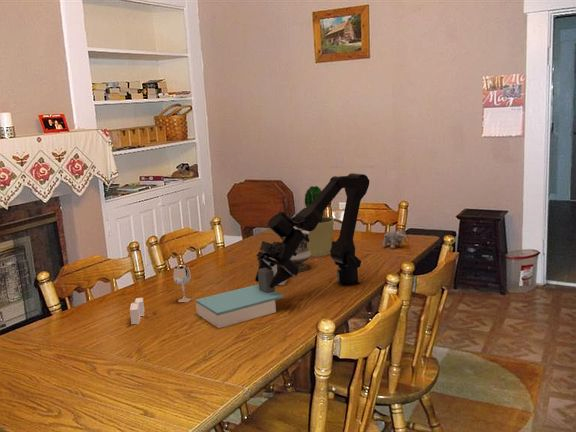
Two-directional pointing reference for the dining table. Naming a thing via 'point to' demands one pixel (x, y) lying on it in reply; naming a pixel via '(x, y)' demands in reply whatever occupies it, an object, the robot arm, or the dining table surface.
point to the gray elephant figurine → (394, 238)
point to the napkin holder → (137, 310)
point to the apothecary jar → (301, 254)
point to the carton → (236, 314)
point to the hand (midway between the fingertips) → (263, 284)
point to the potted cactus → (319, 228)
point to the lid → (243, 295)
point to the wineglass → (182, 279)
